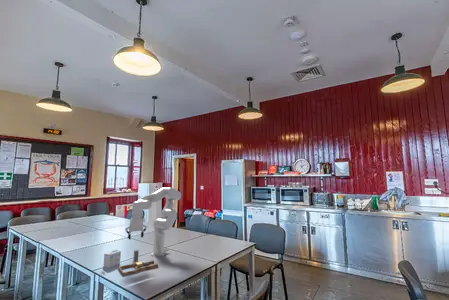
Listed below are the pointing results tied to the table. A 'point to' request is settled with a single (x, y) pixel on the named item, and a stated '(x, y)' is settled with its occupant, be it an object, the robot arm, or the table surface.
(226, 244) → the table surface
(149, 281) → the table surface
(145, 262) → the dark gray cube
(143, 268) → the slot board
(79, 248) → the table surface
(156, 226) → the robot arm
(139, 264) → the tan yellow cube
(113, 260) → the light bulb box
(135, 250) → the gray orange block
